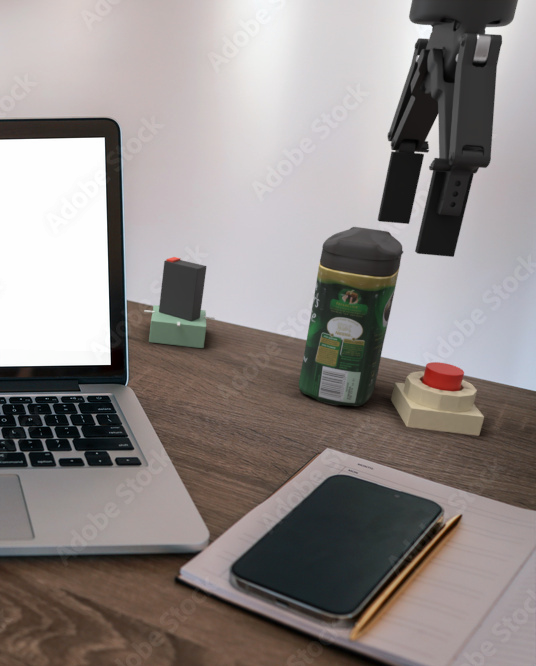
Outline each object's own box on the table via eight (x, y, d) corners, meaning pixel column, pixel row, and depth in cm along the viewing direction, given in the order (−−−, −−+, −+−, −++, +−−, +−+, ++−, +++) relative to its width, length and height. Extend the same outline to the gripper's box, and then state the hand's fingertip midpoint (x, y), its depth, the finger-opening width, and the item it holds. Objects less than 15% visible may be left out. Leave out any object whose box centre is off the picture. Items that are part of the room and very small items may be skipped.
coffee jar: (308, 370, 94) (336, 218, 88) (377, 386, 90) (412, 229, 84) (288, 397, 86) (317, 232, 80) (363, 416, 82) (400, 244, 76)
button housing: (457, 408, 85) (466, 374, 84) (479, 436, 79) (489, 400, 78) (390, 400, 87) (398, 367, 85) (406, 427, 80) (415, 392, 79)
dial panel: (210, 329, 106) (213, 307, 105) (212, 352, 98) (215, 329, 97) (143, 322, 108) (146, 300, 107) (139, 344, 99) (142, 321, 98)
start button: (453, 382, 83) (458, 364, 82) (464, 395, 80) (469, 377, 79) (417, 378, 84) (422, 360, 83) (427, 391, 80) (431, 372, 80)
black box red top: (200, 317, 101) (207, 264, 99) (191, 321, 100) (198, 266, 97) (167, 308, 104) (173, 256, 102) (158, 312, 103) (164, 258, 100)
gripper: (383, -16, 73) (341, 208, 80) (472, -53, 50) (402, 266, 57) (468, -13, 72) (418, 214, 79) (600, -49, 49) (512, 277, 56)
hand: (411, 237), depth 68 cm, fingers open, 13 cm apart
